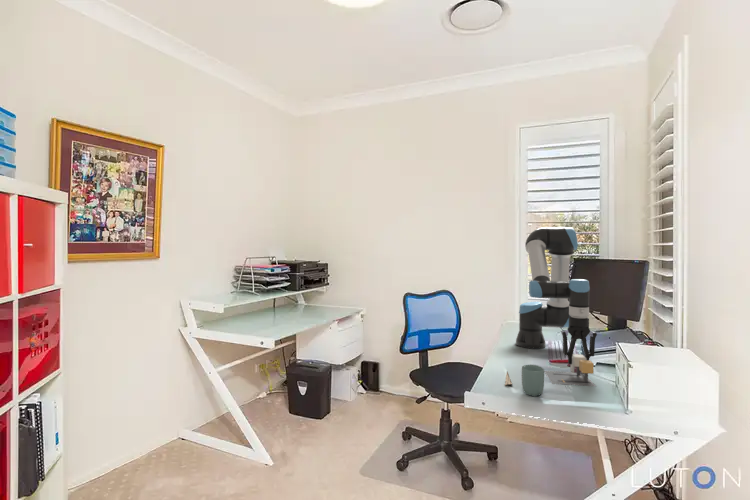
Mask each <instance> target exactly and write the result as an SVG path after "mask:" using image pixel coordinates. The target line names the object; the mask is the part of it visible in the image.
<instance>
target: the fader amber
mask: <svg viewBox="0 0 750 500" xmlns="http://www.w3.org/2000/svg"><path fill="white" fill-rule="evenodd" d="M594 366H595V365H594V362H592V360H590V359H589V360H579V370H580V371H581V373H584V381H585V382H588V378H589V374H594Z"/></svg>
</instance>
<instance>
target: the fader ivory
mask: <svg viewBox="0 0 750 500" xmlns="http://www.w3.org/2000/svg"><path fill="white" fill-rule="evenodd" d="M572 356H573V357H574V366H575V367H577V375H580V370H579V360H585V357H584V356H585V355H584V354H577V353H573V355H572ZM575 367H574V368H575Z"/></svg>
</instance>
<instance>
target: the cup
mask: <svg viewBox="0 0 750 500" xmlns="http://www.w3.org/2000/svg"><path fill="white" fill-rule="evenodd" d="M544 371H545V369H544V367H542V366H539V365H536V364H524V365H522V366H521V386H522V390H523V392H524V393H525V394H526V395H529V396H531V395H532V396H531V397H537V395H538V396H540V395H541V394H543V391H544V388H545V372H544Z"/></svg>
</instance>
